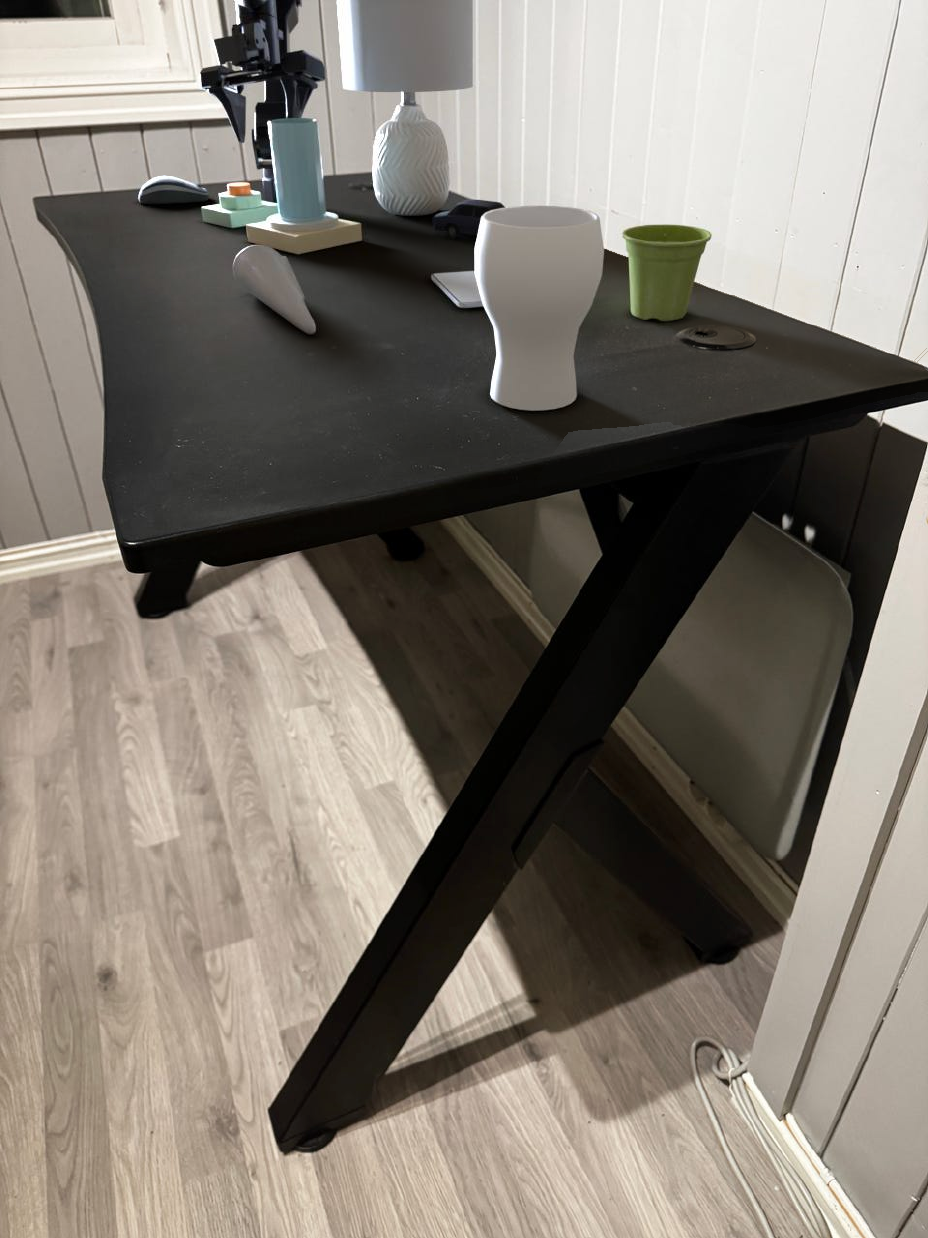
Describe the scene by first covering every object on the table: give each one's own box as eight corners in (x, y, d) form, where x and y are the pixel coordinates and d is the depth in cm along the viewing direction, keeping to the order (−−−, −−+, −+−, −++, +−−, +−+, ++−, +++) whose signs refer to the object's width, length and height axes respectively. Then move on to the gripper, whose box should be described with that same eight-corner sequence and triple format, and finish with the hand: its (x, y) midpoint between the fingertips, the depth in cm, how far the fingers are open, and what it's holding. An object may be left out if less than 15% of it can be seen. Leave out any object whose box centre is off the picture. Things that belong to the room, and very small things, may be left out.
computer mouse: (209, 202, 161) (205, 177, 158) (137, 205, 159) (132, 180, 156) (209, 195, 166) (206, 171, 164) (140, 198, 164) (136, 174, 162)
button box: (254, 212, 153) (250, 186, 151) (283, 218, 148) (280, 192, 146) (203, 221, 147) (199, 194, 145) (231, 228, 142) (227, 200, 140)
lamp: (417, 197, 164) (408, -56, 143) (497, 211, 152) (501, -62, 131) (327, 212, 152) (304, -60, 132) (407, 229, 140) (395, -68, 120)
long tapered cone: (257, 356, 95) (233, 292, 109) (317, 356, 98) (286, 293, 111) (258, 302, 92) (232, 243, 106) (320, 304, 94) (287, 245, 108)
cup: (514, 368, 87) (519, 199, 79) (613, 389, 82) (629, 212, 74) (451, 401, 80) (448, 219, 72) (555, 427, 75) (565, 235, 67)
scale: (311, 229, 141) (309, 206, 140) (362, 240, 135) (360, 216, 133) (247, 241, 134) (244, 217, 132) (297, 254, 127) (295, 229, 126)
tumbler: (295, 211, 136) (285, 116, 129) (334, 214, 134) (326, 118, 127) (270, 219, 131) (258, 121, 124) (310, 223, 129) (301, 123, 122)
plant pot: (649, 331, 97) (658, 246, 92) (599, 309, 104) (605, 229, 99) (717, 319, 100) (730, 236, 95) (664, 299, 107) (673, 220, 102)
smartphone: (485, 269, 117) (521, 298, 105) (485, 274, 117) (520, 304, 105) (429, 273, 115) (459, 303, 103) (429, 278, 116) (459, 309, 103)
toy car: (515, 246, 131) (516, 209, 128) (429, 236, 137) (429, 200, 134) (533, 238, 135) (535, 202, 132) (449, 229, 141) (449, 194, 138)
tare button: (242, 193, 148) (241, 181, 147) (256, 195, 146) (254, 183, 145) (224, 196, 146) (222, 184, 145) (237, 198, 143) (235, 186, 142)
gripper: (168, 13, 128) (181, 135, 132) (279, -11, 121) (288, 119, 125) (218, 36, 138) (228, 149, 142) (323, 16, 131) (330, 135, 135)
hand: (266, 138), depth 136 cm, fingers open, 9 cm apart
